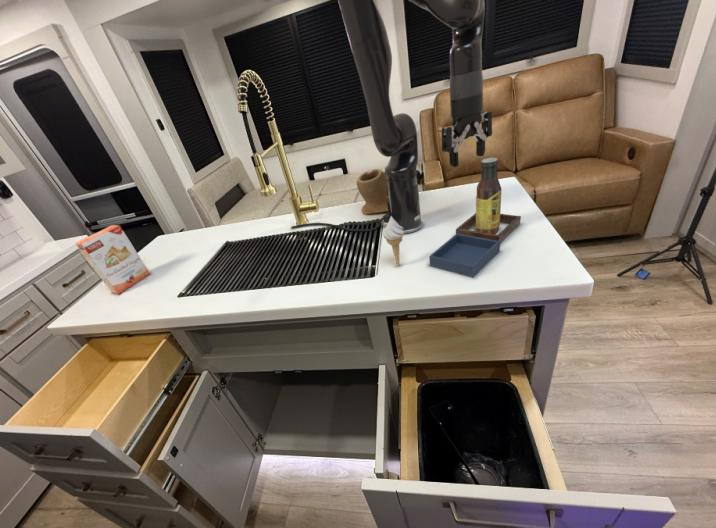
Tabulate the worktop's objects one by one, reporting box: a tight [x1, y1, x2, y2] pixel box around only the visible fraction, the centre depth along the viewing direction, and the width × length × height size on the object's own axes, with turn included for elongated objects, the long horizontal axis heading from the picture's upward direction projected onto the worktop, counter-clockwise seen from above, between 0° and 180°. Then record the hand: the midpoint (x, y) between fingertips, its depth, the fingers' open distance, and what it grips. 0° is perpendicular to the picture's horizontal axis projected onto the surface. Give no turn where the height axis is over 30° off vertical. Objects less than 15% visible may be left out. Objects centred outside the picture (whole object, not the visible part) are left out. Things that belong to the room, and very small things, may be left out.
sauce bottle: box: [475, 157, 502, 234], centre depth 92 cm, size 7×6×20 cm
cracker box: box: [75, 224, 151, 295], centre depth 123 cm, size 14×6×21 cm, turn 148°
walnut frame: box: [455, 212, 522, 244], centre depth 97 cm, size 13×13×2 cm
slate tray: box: [428, 233, 501, 278], centre depth 88 cm, size 12×13×3 cm
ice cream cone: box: [382, 216, 405, 267], centre depth 90 cm, size 6×6×15 cm
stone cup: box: [356, 168, 389, 215], centre depth 123 cm, size 15×12×15 cm
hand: (467, 160), depth 92 cm, fingers open, 8 cm apart
